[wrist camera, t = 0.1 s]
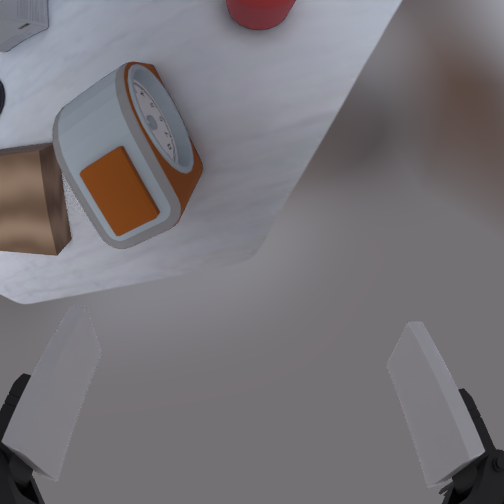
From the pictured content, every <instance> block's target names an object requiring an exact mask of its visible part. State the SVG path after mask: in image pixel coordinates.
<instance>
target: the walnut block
mask: <svg viewBox="0 0 504 504" xmlns="http://www.w3.org/2000/svg"><path fill="white" fill-rule="evenodd" d="M71 239H72V237H71V232H70V227H69V221H68V215H67V209H66V203H65V196H64V189H63V181H62V173H61V168H60V166H59V164H58V161H57V159H56V155H55V151H54V146H53V143H44V144H36V145H28V146H21V147H14V148H8V149H2V150H0V251H9V252H21V253H32V254H44V255H56V256H57V255H58V254H59V253H60V252H61V251H62V249H63V248H64V247H65V246H66V245H67V244H68V243H69V242H70V240H71Z"/></svg>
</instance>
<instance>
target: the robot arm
mask: <svg viewBox="0 0 504 504" xmlns="http://www.w3.org/2000/svg"><path fill="white" fill-rule="evenodd" d="M101 354H102V351H101V348H100V346H99V343H98V340H97V337H96V334H95V331H94V328H93V325H92V322H91V319H90V315H89V312H88V309H87V307H84V306H76V305H71V306H70V308H69V310H68V311H67V313H66V314H65V316H64V318H63V319H62V321H61V323H60V325H59V326H58V328H57V330H56V331H55V333H54V335H53V337H52V338H51V340H50V342H49V344H48V345H47V347H46V349H45V351H44V353H43V355H42V356H41V359H40V360H39V362H38V364H37V366H36V368H35V370H34V372H33V374H32V375H27V374H22V375H21V376H20V377H19V378H18V379H17V380H16V381H15V382H14V384H13V386H12V388H11V390H10V392H9V395H8V396H7V398H6V400H5V404H3V406H2V408H1V410H0V504H45V503H44V501H43V499H42V496H41V494H40V492H39V489H38V487H37V485H36V482H35V480H34V478H33V476H32V472H33V470H34V471H35V472H37V473H38V474H39V475H41V476H43V477H45V478H48V479H50V480H53V481H56V482H58V479H59V475H60V471H61V468H62V464H63V461H64V458H65V455H66V451H67V448H68V445H69V442H70V439H71V436H72V433H73V429H74V427H75V424H76V420H77V418H78V415H79V412H80V409H81V406H82V404H83V401H84V398H85V396H86V393H87V390H88V388H89V385H90V382H91V380H92V377H93V374H94V372H95V369H96V367H97V364H98V362H99V359H100V357H101ZM386 366H387V369H388V371H389V374H390V377H391V379H392V382H393V384H394V387H395V390H396V393H397V395H398V398H399V401H400V403H401V407H402V409H403V412H404V415H405V418H406V421H407V424H408V427H409V430H410V433H411V436H412V438H413V442H414V445H415V448H416V451H417V455H418V457H419V460H420V464H421V468H422V471H423V474H424V478H425V481H426V485H427V488H431V487H434V486H436V485H439V484H442V483H444V482H445V481H447V480H448V479H450V478H451V477H452V480H453V481H452V482H451V483H450V484H448V485H447V486H445V487H444V488H442V489H441V491H440V492H439V494H442V493H443V492H445V491H447V490H448V491H447V492H446V493H445V494H444V496H445V498H444V500H443V503H442V504H504V451H503V450H496V448H495V447H494V445H493V443H492V440H491V438H490V436H489V433H488V431H487V429H486V427H485V424H484V422H483V420H482V418H481V417H480V416H481V415H480V413H479V411H478V410H477V409H476V408H477V407H476V405H475V403H474V401H473V399H472V397H471V396H470V395H469V394H468V393H467V391H465V389H459V390H458V389H457V387H456V384H455V383H454V380H453V378H452V377H451V374H450V373H449V371H448V369H447V367H446V365H445V363H444V361H443V359H442V357H441V355H440V353H439V352H438V350H437V348H436V346H435V344H434V342H433V341H432V339H431V337H430V335H429V333H428V332H427V330H426V328H425V326H424V325H423V323H422V322H407V325H406V327H405V329H404V331H403V333H402V335H401V337H400V339H399V341H398V343H397V345H396V347H395V349H394V351H393V353H392V355H391V356H390V359H389V360H388V362H387V364H386Z"/></svg>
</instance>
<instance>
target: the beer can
mask: <svg viewBox="0 0 504 504" xmlns="http://www.w3.org/2000/svg"><path fill="white" fill-rule="evenodd" d="M295 1H296V0H226V3H227V7H228V11H229V13H230V15H231V16H232V18H233V19H234V20H235V21H236V22H237V23H239V24H240V25H242V26H244V27H247V28H249V29H256V30H262V29H269V28H272V27H274V26H277V25H278V24H279V23H281V22H282V21H283V20H284V19H285V17H286V16H287V14H288V13H289V11H290V9H291V8H292V6H293V4H294V3H295Z"/></svg>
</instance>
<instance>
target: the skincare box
mask: <svg viewBox="0 0 504 504" xmlns="http://www.w3.org/2000/svg"><path fill="white" fill-rule="evenodd" d="M47 28H48V6H47V0H0V52H7V51H8V50H10V49H11V48H12V47H14V46H15V45H17V44H18V43H20V42H22V41H23V40H25V39H27V38H29V37H31V36H32V35H34V34H36V33H38V32H40V31H43V30H45V29H47Z"/></svg>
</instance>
